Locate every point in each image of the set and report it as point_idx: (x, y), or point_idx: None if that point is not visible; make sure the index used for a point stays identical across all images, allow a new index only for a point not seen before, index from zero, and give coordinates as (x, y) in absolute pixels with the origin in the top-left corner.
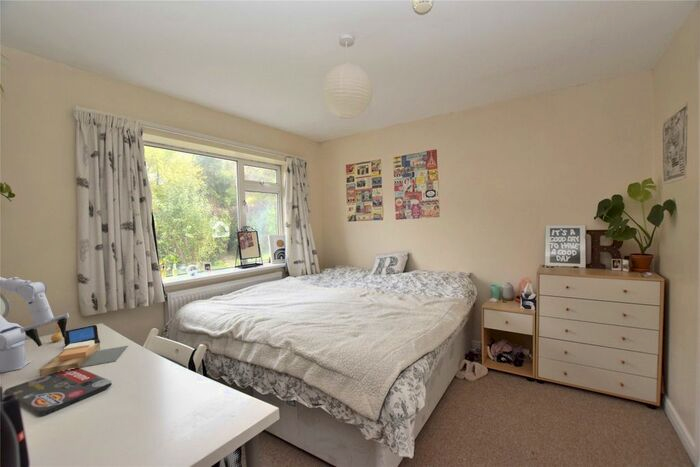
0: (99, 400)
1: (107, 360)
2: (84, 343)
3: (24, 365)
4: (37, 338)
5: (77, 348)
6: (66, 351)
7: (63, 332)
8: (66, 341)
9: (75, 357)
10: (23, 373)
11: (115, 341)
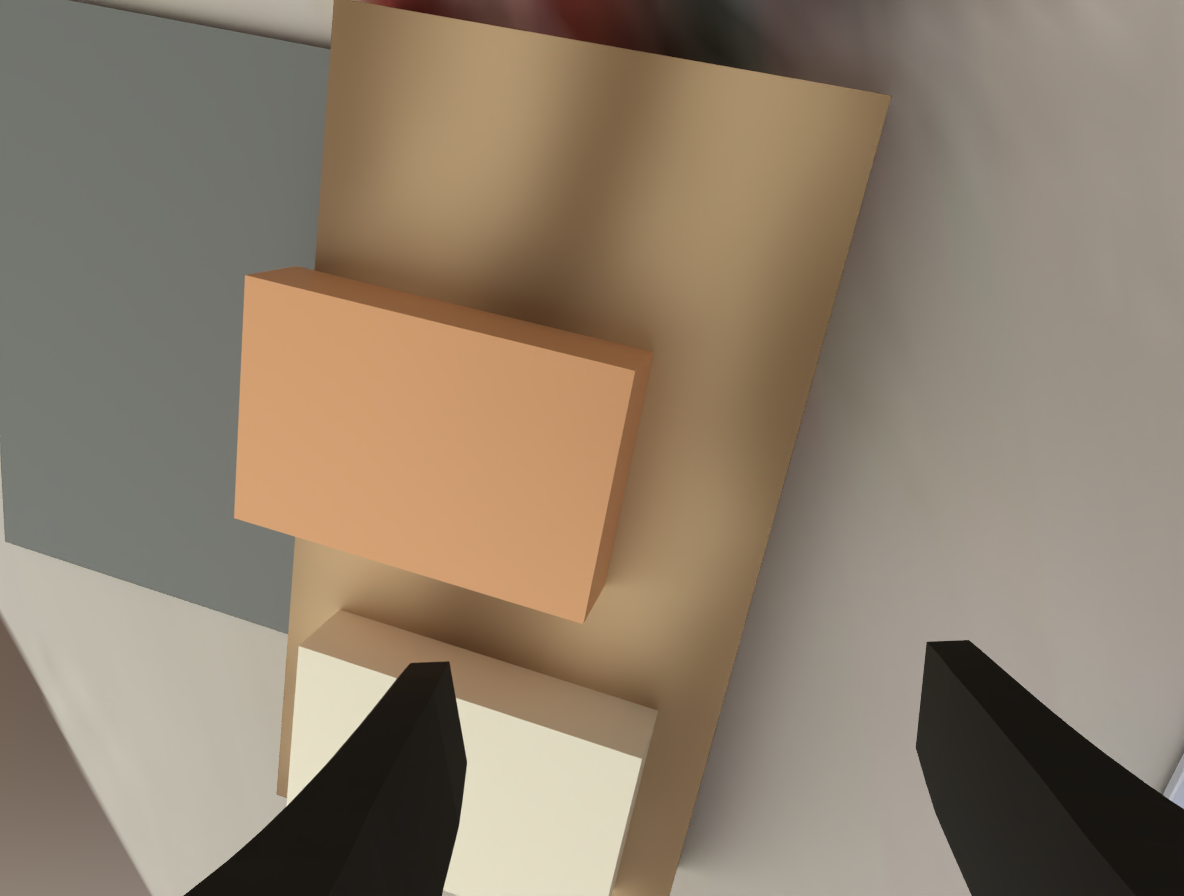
0: None
1: (80, 76)
2: None
3: (1173, 783)
4: (1031, 849)
5: (460, 678)
6: (556, 560)
7: (362, 742)
8: None
9: (422, 300)
10: (1146, 443)
11: (206, 855)
